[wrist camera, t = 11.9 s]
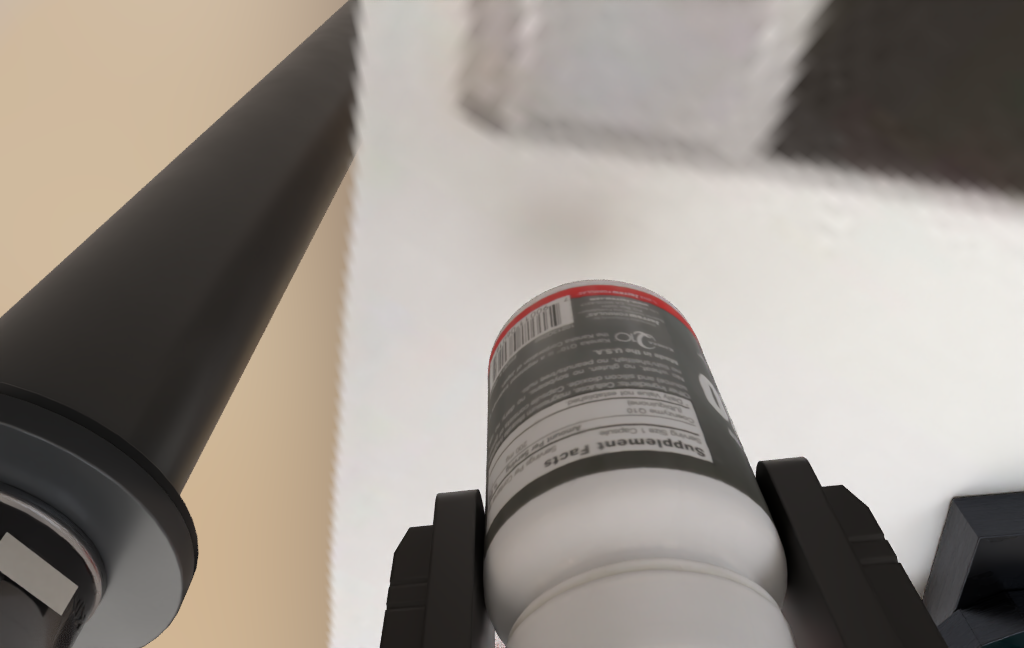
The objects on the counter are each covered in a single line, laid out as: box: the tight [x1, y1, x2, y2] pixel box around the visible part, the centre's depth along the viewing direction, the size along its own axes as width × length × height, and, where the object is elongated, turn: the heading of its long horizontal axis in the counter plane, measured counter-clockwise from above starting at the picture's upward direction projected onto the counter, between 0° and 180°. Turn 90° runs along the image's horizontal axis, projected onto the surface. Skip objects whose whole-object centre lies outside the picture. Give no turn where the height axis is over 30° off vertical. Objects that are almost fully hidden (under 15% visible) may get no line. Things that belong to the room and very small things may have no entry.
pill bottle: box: [483, 280, 796, 648], centre depth 13 cm, size 5×5×8 cm
